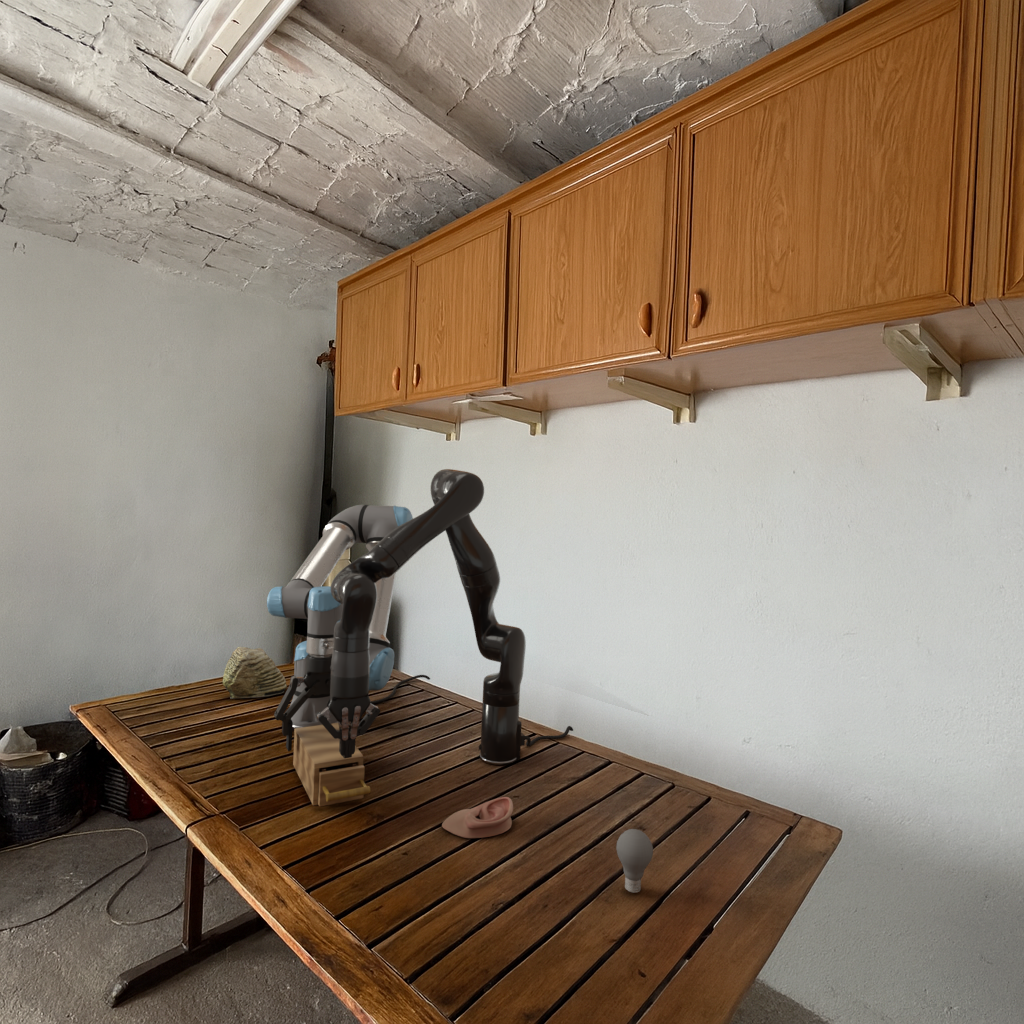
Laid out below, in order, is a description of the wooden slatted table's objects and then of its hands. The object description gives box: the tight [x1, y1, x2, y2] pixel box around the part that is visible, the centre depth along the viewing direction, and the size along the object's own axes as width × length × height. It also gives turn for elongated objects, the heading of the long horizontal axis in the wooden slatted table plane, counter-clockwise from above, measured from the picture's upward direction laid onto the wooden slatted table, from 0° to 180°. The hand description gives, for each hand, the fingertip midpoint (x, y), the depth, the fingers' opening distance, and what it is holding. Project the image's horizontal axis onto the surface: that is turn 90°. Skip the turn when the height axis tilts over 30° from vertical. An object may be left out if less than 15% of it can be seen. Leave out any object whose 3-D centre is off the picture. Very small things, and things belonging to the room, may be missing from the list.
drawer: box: [318, 762, 371, 807], centre depth 136 cm, size 26×9×6 cm, turn 29°
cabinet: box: [292, 723, 364, 806], centre depth 142 cm, size 22×10×9 cm, turn 29°
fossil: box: [222, 646, 288, 699], centre depth 198 cm, size 9×18×15 cm, turn 132°
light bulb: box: [615, 828, 654, 894], centre depth 106 cm, size 6×6×10 cm
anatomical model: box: [441, 796, 514, 839], centre depth 125 cm, size 13×4×12 cm
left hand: (319, 744), depth 148 cm, fingers open, 13 cm apart
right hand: (346, 756), depth 127 cm, fingers closed
